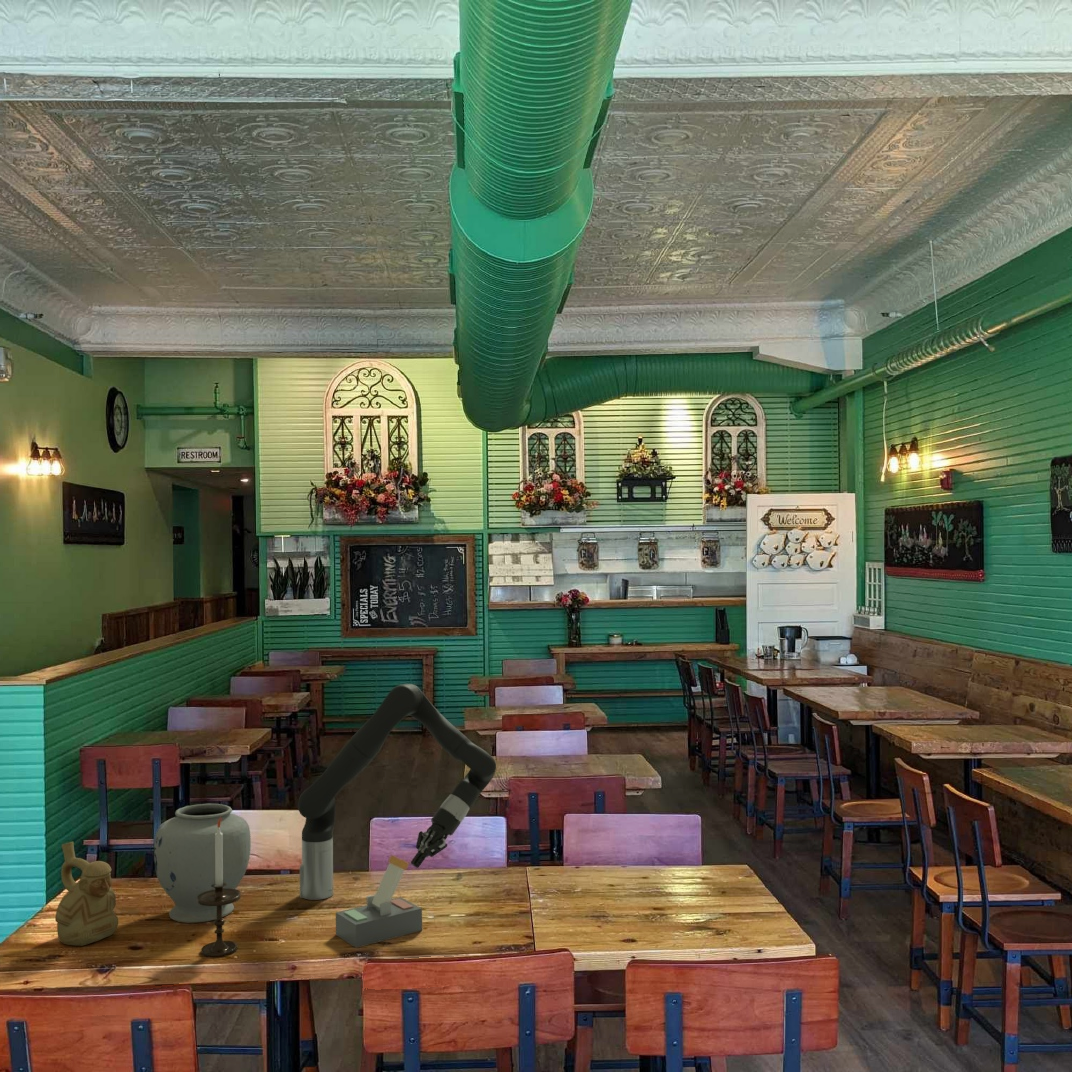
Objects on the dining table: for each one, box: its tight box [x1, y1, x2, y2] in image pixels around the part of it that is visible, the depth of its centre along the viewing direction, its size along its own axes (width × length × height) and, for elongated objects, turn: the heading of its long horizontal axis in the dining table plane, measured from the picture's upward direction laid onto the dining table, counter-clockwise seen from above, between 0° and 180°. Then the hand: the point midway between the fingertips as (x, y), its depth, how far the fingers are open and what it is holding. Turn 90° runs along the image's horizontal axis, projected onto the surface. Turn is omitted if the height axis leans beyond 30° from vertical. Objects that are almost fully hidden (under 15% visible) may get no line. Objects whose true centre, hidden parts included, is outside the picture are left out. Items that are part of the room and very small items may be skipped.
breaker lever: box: [372, 854, 410, 910], centre depth 275 cm, size 2×6×14 cm, turn 37°
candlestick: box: [197, 817, 242, 958], centre depth 262 cm, size 11×11×35 cm
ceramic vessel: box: [54, 841, 119, 947], centre depth 273 cm, size 17×20×25 cm
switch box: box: [335, 894, 423, 949], centre depth 273 cm, size 20×12×9 cm, turn 127°
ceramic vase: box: [153, 803, 252, 924], centre depth 291 cm, size 27×27×30 cm
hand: (414, 865), depth 280 cm, fingers closed
